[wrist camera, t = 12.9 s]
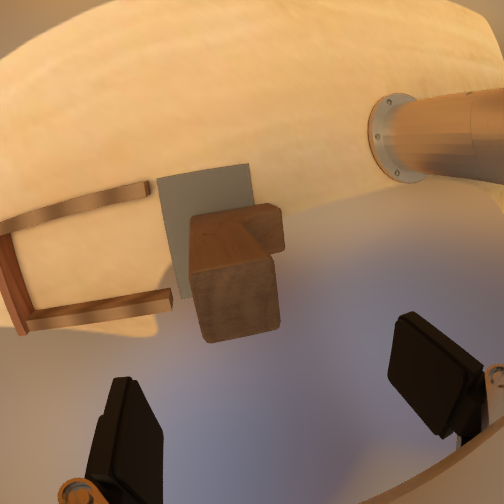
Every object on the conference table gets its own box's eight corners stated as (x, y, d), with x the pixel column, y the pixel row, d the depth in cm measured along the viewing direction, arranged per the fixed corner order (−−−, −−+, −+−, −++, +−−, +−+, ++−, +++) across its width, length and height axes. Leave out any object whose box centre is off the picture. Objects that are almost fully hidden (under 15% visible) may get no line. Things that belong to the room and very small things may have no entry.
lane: (148, 180, 30) (141, 182, 26) (173, 299, 34) (171, 314, 30) (-1, 222, 26) (-18, 229, 23) (30, 321, 31) (18, 335, 27)
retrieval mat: (247, 163, 31) (248, 163, 31) (263, 281, 35) (264, 283, 35) (156, 178, 30) (156, 178, 29) (181, 297, 34) (181, 299, 34)
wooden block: (270, 202, 33) (352, 240, 16) (274, 241, 34) (352, 311, 17) (189, 216, 31) (186, 273, 14) (196, 255, 33) (204, 347, 16)
